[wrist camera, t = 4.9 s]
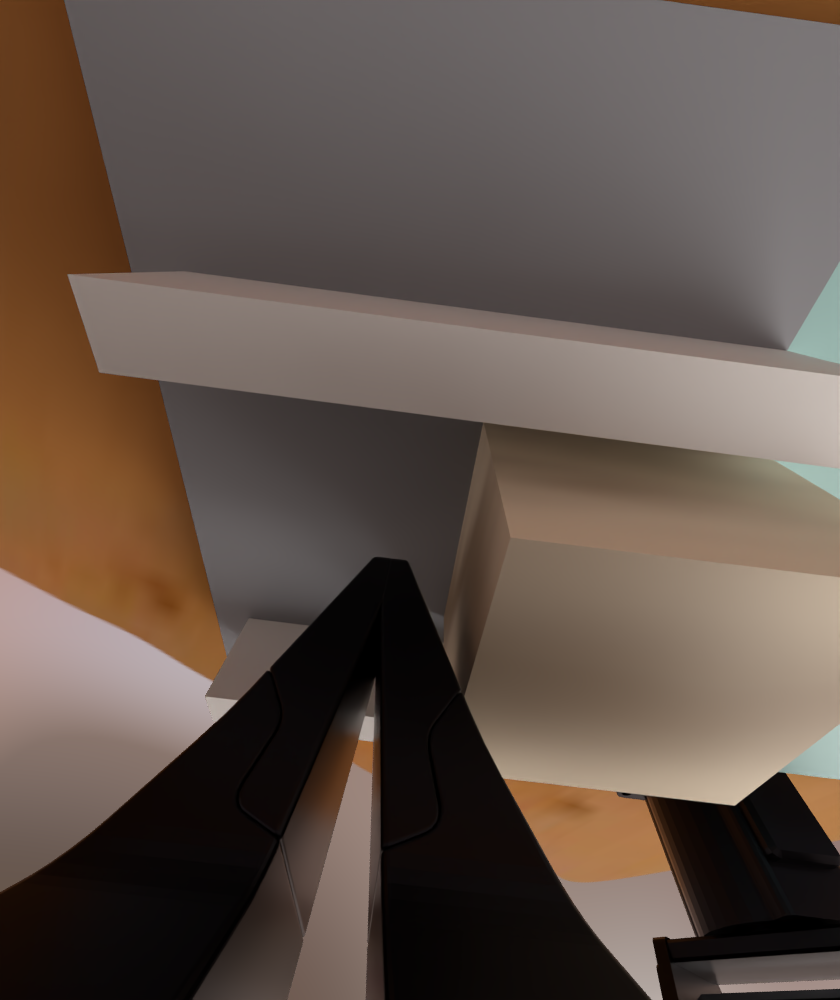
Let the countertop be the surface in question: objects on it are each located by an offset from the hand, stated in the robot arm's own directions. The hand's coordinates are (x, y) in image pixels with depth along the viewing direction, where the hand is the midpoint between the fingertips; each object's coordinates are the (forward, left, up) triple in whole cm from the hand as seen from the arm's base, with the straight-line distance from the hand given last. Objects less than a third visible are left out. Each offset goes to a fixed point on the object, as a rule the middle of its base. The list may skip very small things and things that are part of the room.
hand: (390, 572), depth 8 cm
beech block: (0, -5, -2) cm, 5 cm away
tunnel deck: (0, -11, -5) cm, 12 cm away
